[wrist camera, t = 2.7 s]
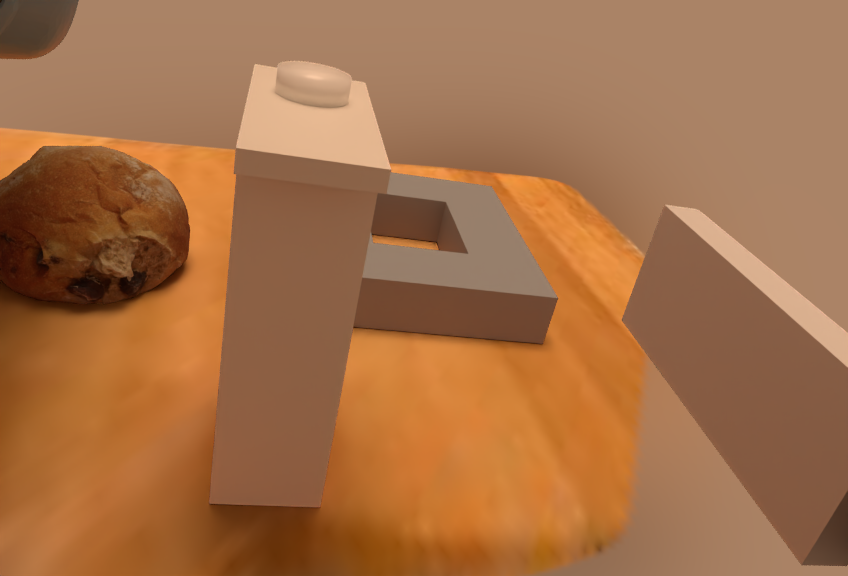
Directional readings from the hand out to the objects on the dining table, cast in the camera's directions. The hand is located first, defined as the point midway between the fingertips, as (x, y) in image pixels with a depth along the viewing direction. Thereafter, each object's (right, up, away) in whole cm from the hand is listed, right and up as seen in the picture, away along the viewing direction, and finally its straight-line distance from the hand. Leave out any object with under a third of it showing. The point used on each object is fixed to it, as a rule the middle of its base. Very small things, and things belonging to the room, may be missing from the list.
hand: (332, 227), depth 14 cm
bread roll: (-16, 0, +25) cm, 30 cm away
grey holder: (0, 0, +32) cm, 32 cm away
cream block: (-5, -8, +15) cm, 18 cm away
